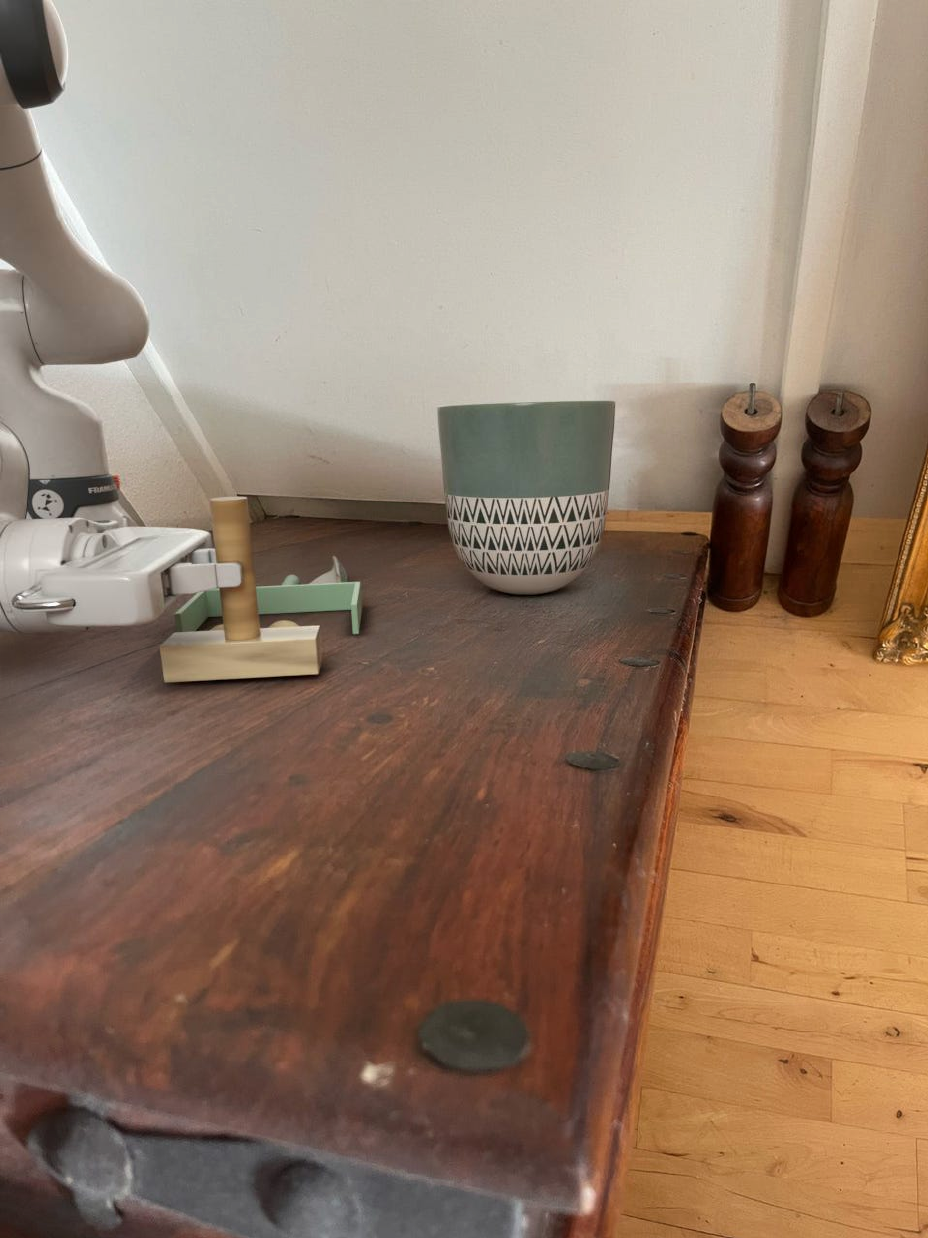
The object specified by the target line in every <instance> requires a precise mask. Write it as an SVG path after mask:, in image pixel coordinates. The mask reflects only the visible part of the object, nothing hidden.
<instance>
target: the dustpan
mask: <svg viewBox="0 0 928 1238" xmlns="http://www.w3.org/2000/svg"><path fill="white" fill-rule="evenodd" d="M300 583H301V582H300V579H299V577H298V576H297V575H295V574H289V575H287V576H286V577H285V579H284V580H283V582H282V583H281V585H266V586H265V585H264V586H256V591H257V601H258V611H259V615H275V614H294V613H313V612H314V613H315V612H333V611H350V613H351V614H350V615H351V630H352V635H359V634H360V627H361V619H362V611H363V602H362V601H363V600H362V586H361V581H349V582H348V581H347V582H344V583H324V584H310V583H306V584H300ZM173 616H174V621H175V622H174V624H175V631H176V632H195V631H197V630H198V629H199V628H200V627H201V626H202V625H203V624H204V622H205V621H206V620H207V619H208V618H215V617H216V618H217V617H223V616H222V607H221V598H220V590H219V588H216V589H211V590H207V591H202V592H198V593H194V595H193V596H192V597H191V598H190V599H189V600H188V601H186V603H184V604H183V605H182V606H181V607H180V608H179V609H178V610H176V612H174V613H173Z"/></svg>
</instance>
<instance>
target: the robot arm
mask: <svg viewBox="0 0 928 1238" xmlns="http://www.w3.org/2000/svg"><path fill="white" fill-rule="evenodd" d="M68 68H69V45H68V39H67V35H66V31H65V29H64V26H63V22H62V19H61V17H60V14H59V11H57V8H56V7H55V4H54V3H53V1H52V0H0V260H2V261H4V262H5V263H7V264H8V265H10V266H11V267H13V269H11V268H10V269H8V268H0V631H2V632H8V633H12V634H17V635H38V634H39V635H40V634H42V635H43V634H57V633H58V634H60V633H80V632H83V633H84V632H91V631H94V630H95V629H97V628H105V627H108V628H112V627H115V628H116V627H134V626H141V625H144V624H149V623H152V622H154V621H155V620H156V619H157V618H159V617H160V616H161V615H162V614H163V613H164V612H166V610H168V609H169V608H170V607H171V606H173V604H175V603H176V602H177V601H178V600H179V599H180V598H181V597H183V596H184V595H193V594H197V593H198V592H202V591H207V590H211V589H219V588H223V587H237V586H239V585H240V584H241V583H242V581H243V580H244V567H243V564H242V562H240V561H238V560H235V561H219V562H218V563H216V554H215V548H214V546H213V539H212V534H211V533H210V532H209V531H206V530H202V529H198V528H197V529H196V528H186V527H166V526H165V527H164V526H163V527H162V526H139V525H138V524H137V522H136V521H135V520H134V519H133V518H132V517H131V515H130V514H129V513H128V512H127V511H126V510H125V509H124V508H123V507H122V505H121V504H120V502H119V500H120V495H119V490H120V489H121V480H120V478H119V475H117V474H115V475H112V474H111V473H110V467H109V462H108V456H107V448H106V442H105V435H104V430H103V429H104V428H103V423H102V419H101V418H100V416H99V415H98V413H97V412H96V411H95V409H93V407H91V406H90V405H89V404H87V403H86V402H84V401H82V400H80V399H78V398H77V397H74V396H72V395H70V394H67V393H65V392H62V391H60V390H58V389H54V388H53V387H51V386H50V385H49V384H48V383H47V382H46V380H45V378H44V376H43V371H42V367H43V366H63V365H64V366H65V365H66V366H70V365H71V366H73V365H74V366H75V365H76V366H77V365H82V366H83V365H85V366H86V365H88V366H89V365H105V364H110V363H116V362H121V361H125V360H129V359H130V360H131V359H133V358H137V357H138V356H139V355H140V354H141V352H142V351H143V349H144V348H145V346H146V344H147V341H148V338H149V335H150V317H149V313H148V309H147V306H146V304H145V302H144V300H143V298H142V296H141V295H140V293H139V292H138V290H137V289H136V288H135V287H134V286H133V285H132V283H130V282H129V281H128V280H127V279H125V278H124V277H121V276H120V275H118V274H117V273H115V272H113V271H112V270H110V269H109V268H107V267H106V266H105V265H104V264H102V263H101V262H100V261H98V260H97V259H96V258H95V257H94V256H93V255H92V254H91V253H90V252H89V251H88V250H87V249H86V248H85V247H84V246H83V245H82V243H81V241H79V240H78V238H77V237H76V236H75V234H74V233H73V231H72V229H71V228H70V226H69V224H68V223H67V221H66V219H65V217H64V214H63V212H62V208H61V206H60V204H59V201H58V199H57V196H56V192H55V189H54V186H53V183H52V180H51V177H50V173H49V170H48V166H47V162H46V158H45V155H44V150H43V148H42V143H41V141H40V135H39V132H38V130H37V127H36V123H35V120H34V117H33V114H32V111H31V109H34V108H40V107H44V106H48V105H51V104H54V103H55V102H56V101H57V100H58V99H59V97H60V96H61V95H62V94H63V93H64V92H65V90H66V78H67V73H68Z"/></svg>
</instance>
